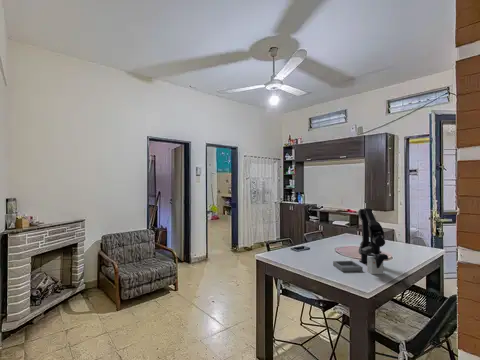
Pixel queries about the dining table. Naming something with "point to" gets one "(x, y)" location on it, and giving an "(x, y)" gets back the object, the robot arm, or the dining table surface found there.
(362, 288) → the dining table surface
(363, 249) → the robot arm
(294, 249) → the dining table surface
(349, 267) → the charcoal tray
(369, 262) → the small box
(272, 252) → the dining table surface
